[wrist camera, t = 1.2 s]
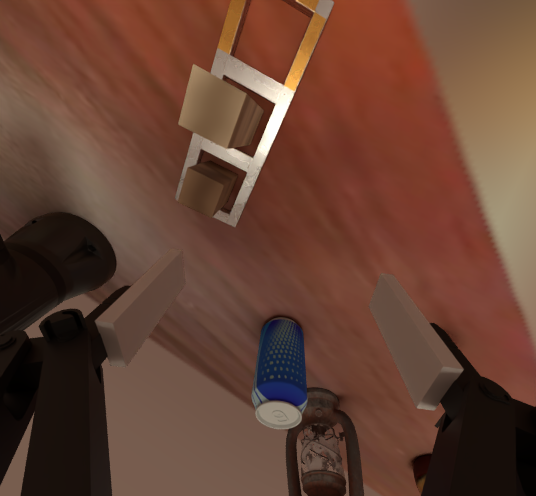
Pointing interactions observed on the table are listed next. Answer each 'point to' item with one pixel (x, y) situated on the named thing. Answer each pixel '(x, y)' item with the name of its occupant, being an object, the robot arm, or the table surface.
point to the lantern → (319, 421)
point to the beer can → (280, 375)
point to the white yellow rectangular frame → (226, 66)
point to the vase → (421, 470)
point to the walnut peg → (207, 187)
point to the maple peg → (219, 111)
